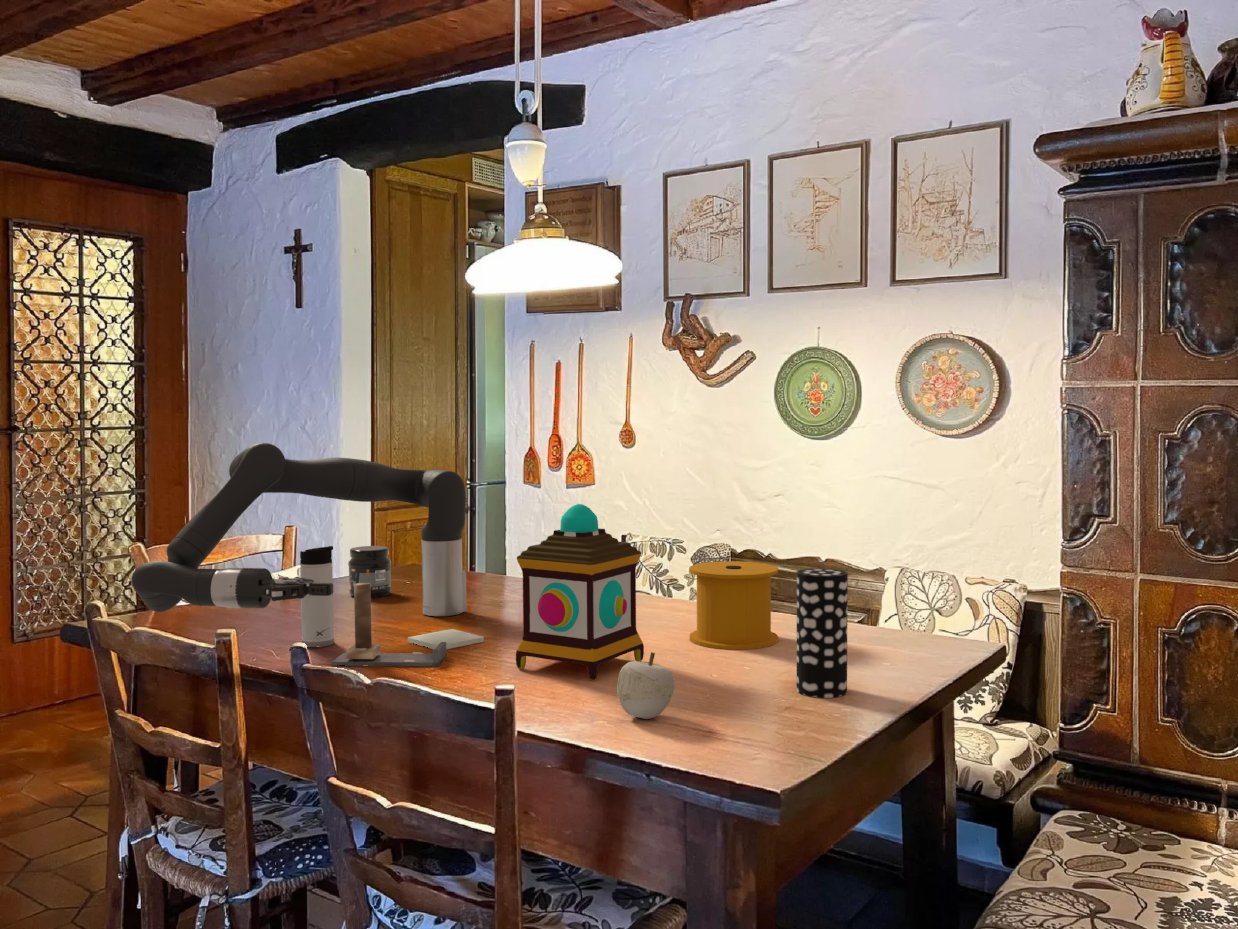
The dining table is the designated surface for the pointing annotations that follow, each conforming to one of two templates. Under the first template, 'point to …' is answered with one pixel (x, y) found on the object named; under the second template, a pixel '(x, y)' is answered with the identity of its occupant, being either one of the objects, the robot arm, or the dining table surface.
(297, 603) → the dining table surface
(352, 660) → the rail
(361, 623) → the post
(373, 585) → the supplement container
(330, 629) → the travel mug
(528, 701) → the dining table surface
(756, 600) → the spool
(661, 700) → the decorative object
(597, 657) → the decorative lantern
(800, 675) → the spotted tube
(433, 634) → the pad
